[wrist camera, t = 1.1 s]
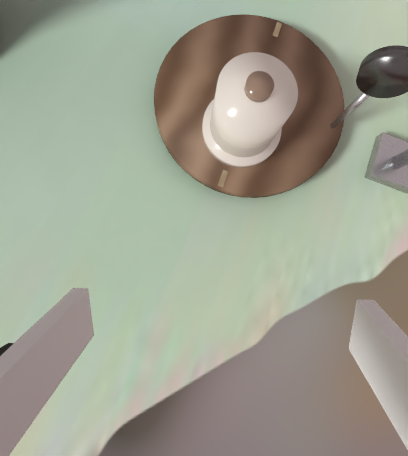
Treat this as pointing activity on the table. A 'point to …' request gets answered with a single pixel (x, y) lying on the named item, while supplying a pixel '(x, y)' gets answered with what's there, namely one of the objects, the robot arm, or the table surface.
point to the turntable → (205, 92)
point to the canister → (249, 109)
